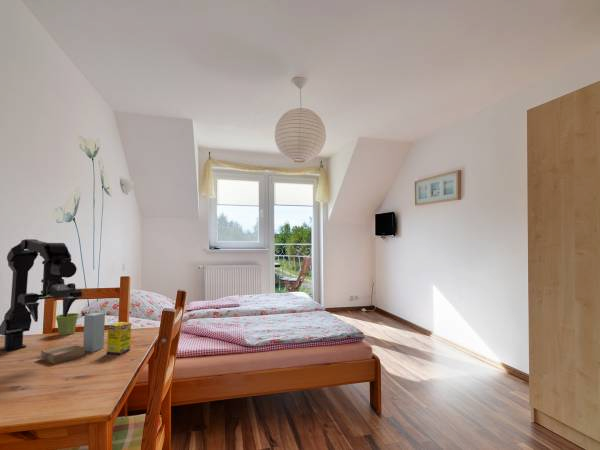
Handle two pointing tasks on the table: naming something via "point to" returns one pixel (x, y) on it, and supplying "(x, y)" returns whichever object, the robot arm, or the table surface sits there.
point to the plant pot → (66, 323)
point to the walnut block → (62, 353)
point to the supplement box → (119, 338)
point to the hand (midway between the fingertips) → (50, 319)
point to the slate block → (94, 331)
